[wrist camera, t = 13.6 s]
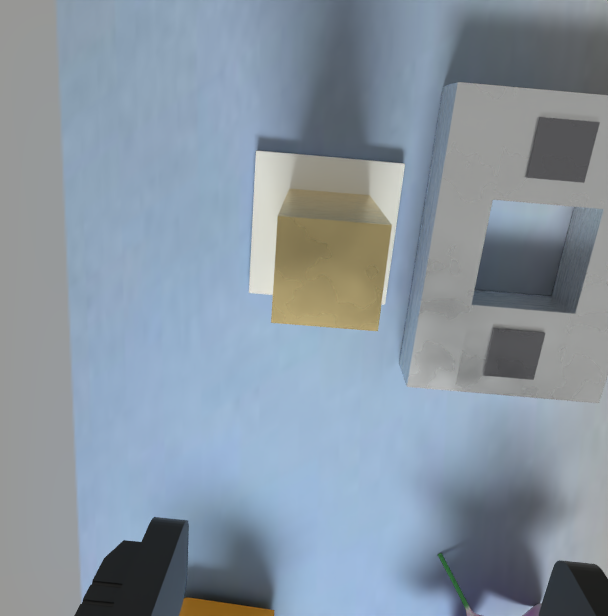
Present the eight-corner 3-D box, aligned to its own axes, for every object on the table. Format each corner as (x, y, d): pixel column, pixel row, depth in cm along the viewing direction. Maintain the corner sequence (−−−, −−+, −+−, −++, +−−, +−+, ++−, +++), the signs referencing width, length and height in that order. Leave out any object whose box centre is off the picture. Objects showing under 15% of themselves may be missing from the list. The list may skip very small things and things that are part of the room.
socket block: (652, 104, 27) (694, 102, 24) (574, 378, 32) (600, 405, 29) (443, 86, 27) (459, 81, 24) (398, 363, 32) (407, 388, 29)
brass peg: (369, 195, 28) (391, 225, 20) (360, 272, 30) (377, 331, 21) (289, 188, 28) (277, 215, 20) (284, 266, 30) (271, 322, 21)
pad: (403, 163, 28) (405, 164, 28) (383, 301, 31) (384, 304, 31) (257, 150, 28) (255, 150, 28) (250, 289, 31) (249, 292, 30)
